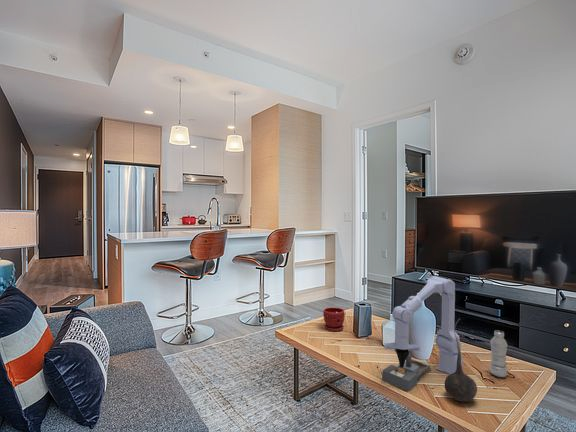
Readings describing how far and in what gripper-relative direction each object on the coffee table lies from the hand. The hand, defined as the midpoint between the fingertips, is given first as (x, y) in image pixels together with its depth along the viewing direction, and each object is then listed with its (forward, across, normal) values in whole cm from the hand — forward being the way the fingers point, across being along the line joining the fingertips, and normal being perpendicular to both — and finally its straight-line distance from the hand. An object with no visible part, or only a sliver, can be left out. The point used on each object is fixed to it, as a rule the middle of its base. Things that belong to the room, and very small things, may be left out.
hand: (401, 366), depth 141 cm
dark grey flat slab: (+7, -7, -8) cm, 13 cm away
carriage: (+5, -4, -5) cm, 9 cm away
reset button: (+5, 0, 0) cm, 5 cm away
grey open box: (+7, +1, +1) cm, 7 cm away
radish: (+7, -21, +9) cm, 24 cm away
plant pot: (+7, +28, -60) cm, 66 cm away
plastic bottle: (+7, -45, -11) cm, 47 cm away
